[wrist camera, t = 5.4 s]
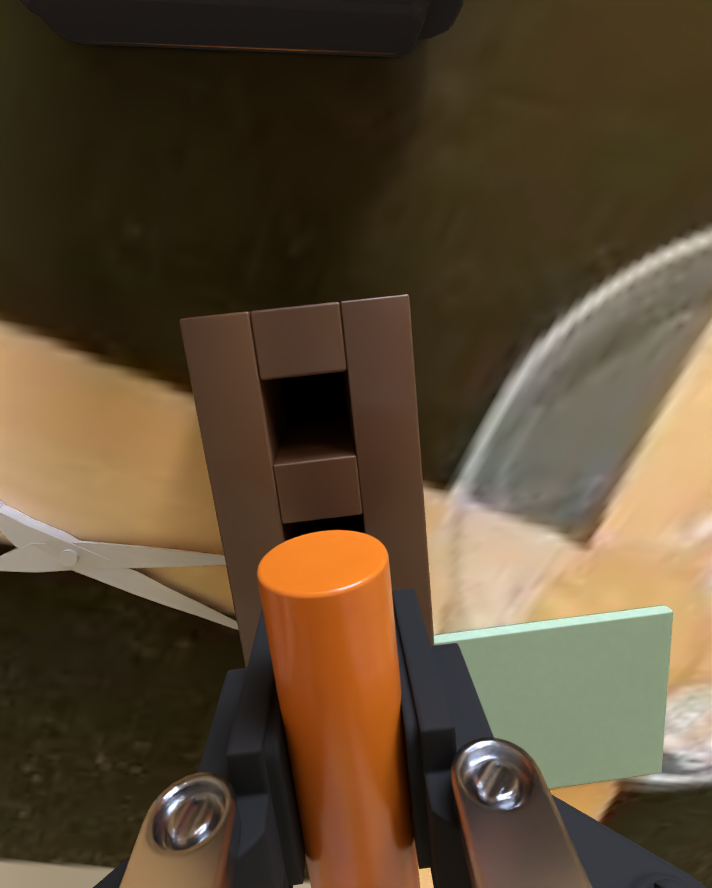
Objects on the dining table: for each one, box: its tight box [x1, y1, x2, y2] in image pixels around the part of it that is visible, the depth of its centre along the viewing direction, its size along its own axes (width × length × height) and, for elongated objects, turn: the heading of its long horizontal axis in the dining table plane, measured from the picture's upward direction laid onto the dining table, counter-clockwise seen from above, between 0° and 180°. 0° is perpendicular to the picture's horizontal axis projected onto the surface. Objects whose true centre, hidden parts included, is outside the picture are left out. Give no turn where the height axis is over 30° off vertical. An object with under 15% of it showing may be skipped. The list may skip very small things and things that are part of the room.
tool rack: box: [180, 294, 434, 668], centre depth 19 cm, size 7×16×6 cm, turn 6°
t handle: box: [257, 515, 420, 888], centre depth 13 cm, size 2×8×12 cm, turn 6°
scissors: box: [0, 500, 238, 630], centre depth 21 cm, size 11×1×20 cm
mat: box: [434, 605, 673, 789], centre depth 25 cm, size 12×10×1 cm
